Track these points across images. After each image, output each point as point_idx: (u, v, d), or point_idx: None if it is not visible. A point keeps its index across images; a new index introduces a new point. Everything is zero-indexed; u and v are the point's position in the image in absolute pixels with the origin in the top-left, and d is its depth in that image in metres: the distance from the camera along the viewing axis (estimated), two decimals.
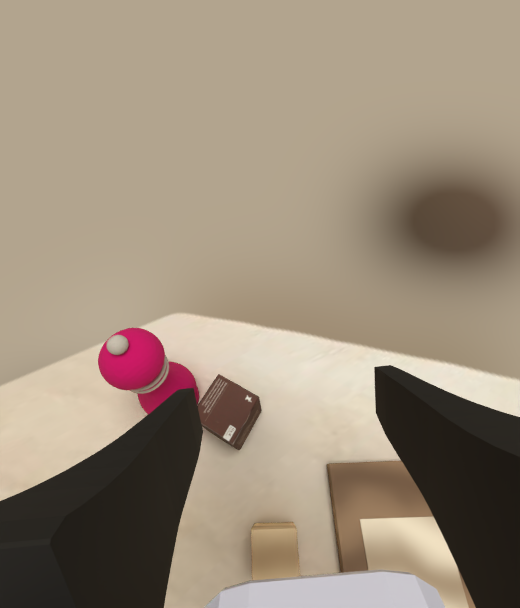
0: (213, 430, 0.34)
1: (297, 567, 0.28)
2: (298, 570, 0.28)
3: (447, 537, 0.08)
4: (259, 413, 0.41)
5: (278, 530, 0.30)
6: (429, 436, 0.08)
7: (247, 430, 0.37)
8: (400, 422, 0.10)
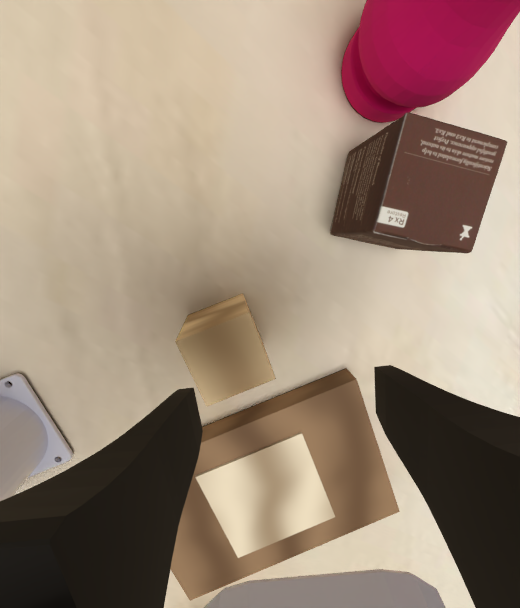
0: (390, 179, 0.15)
1: (229, 394, 0.18)
2: (226, 396, 0.18)
3: (447, 537, 0.08)
4: (396, 248, 0.23)
5: (263, 353, 0.18)
6: (429, 436, 0.08)
7: (376, 241, 0.20)
8: (400, 422, 0.10)
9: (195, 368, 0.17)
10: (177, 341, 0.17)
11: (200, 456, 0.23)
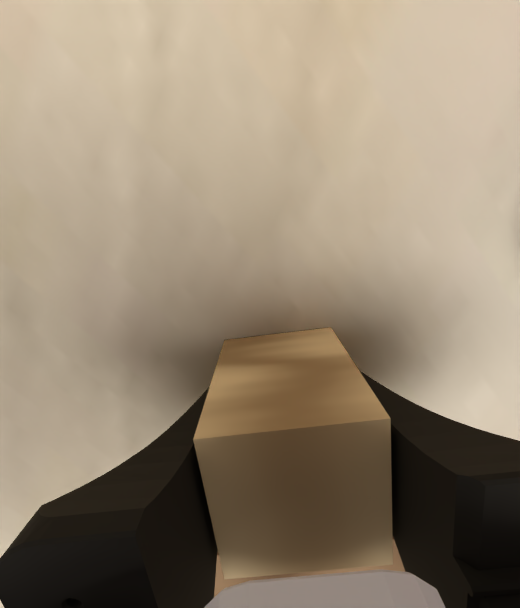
0: None
1: (280, 569, 0.08)
2: (272, 571, 0.08)
3: (398, 542, 0.08)
4: None
5: (385, 509, 0.07)
6: None
7: None
8: None
9: (223, 504, 0.07)
10: (198, 440, 0.07)
11: None
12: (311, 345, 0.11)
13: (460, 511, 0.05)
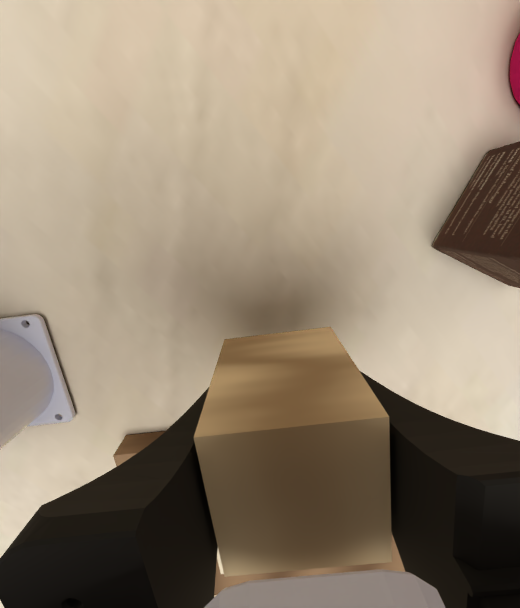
0: None
1: (280, 567, 0.08)
2: (271, 569, 0.08)
3: (397, 542, 0.08)
4: (509, 284, 0.18)
5: (383, 507, 0.08)
6: None
7: (497, 270, 0.16)
8: None
9: (223, 502, 0.07)
10: (198, 438, 0.07)
11: None
12: (311, 344, 0.11)
13: (460, 512, 0.05)
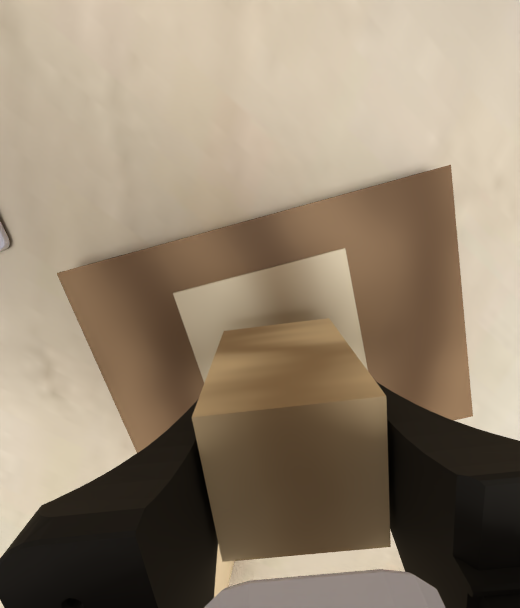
0: None
1: (278, 552, 0.08)
2: (270, 554, 0.08)
3: (397, 542, 0.08)
4: None
5: (381, 489, 0.08)
6: None
7: None
8: None
9: (221, 484, 0.07)
10: (196, 418, 0.07)
11: (183, 261, 0.15)
12: (309, 334, 0.11)
13: (460, 511, 0.05)
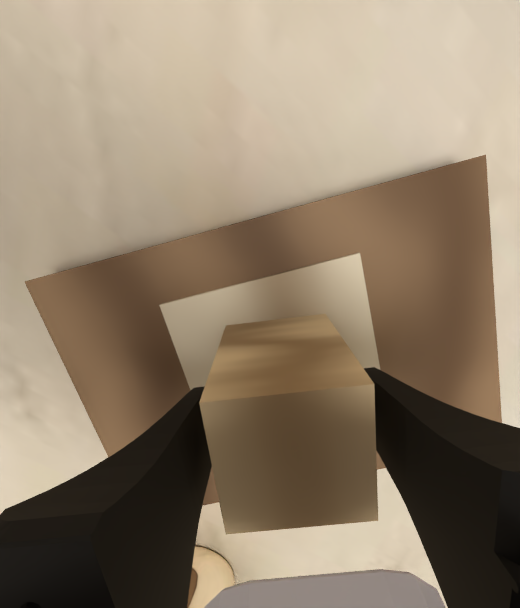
0: None
1: (276, 525, 0.09)
2: (269, 527, 0.09)
3: (424, 539, 0.08)
4: None
5: (370, 469, 0.08)
6: (406, 438, 0.08)
7: None
8: (381, 424, 0.10)
9: (225, 463, 0.08)
10: (203, 403, 0.08)
11: (171, 268, 0.13)
12: (306, 328, 0.12)
13: (505, 507, 0.05)
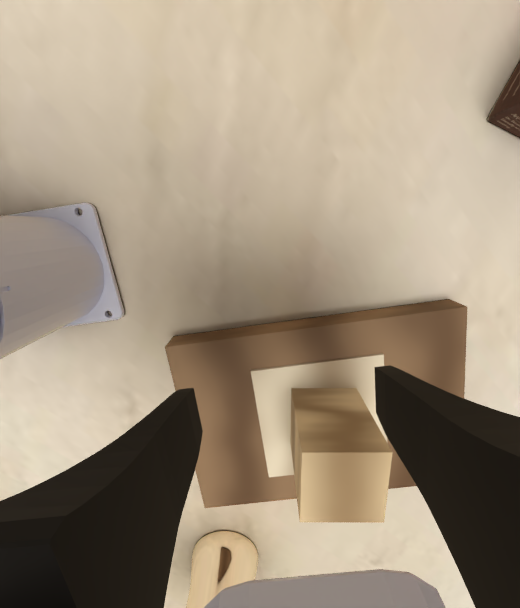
0: None
1: (328, 519, 0.16)
2: (324, 520, 0.16)
3: (447, 538, 0.08)
4: None
5: (383, 494, 0.16)
6: (429, 436, 0.08)
7: None
8: (400, 422, 0.10)
9: (308, 484, 0.15)
10: (303, 453, 0.15)
11: (262, 349, 0.20)
12: (347, 401, 0.19)
13: None
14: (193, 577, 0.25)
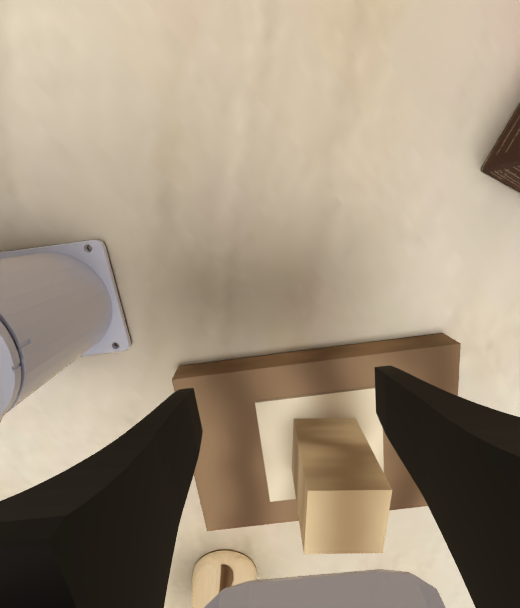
0: None
1: (331, 551, 0.17)
2: (327, 552, 0.17)
3: (447, 537, 0.08)
4: None
5: (383, 527, 0.17)
6: (429, 436, 0.08)
7: None
8: (400, 422, 0.10)
9: (312, 519, 0.16)
10: (309, 491, 0.16)
11: (266, 382, 0.21)
12: (347, 433, 0.20)
13: None
14: (194, 597, 0.26)
